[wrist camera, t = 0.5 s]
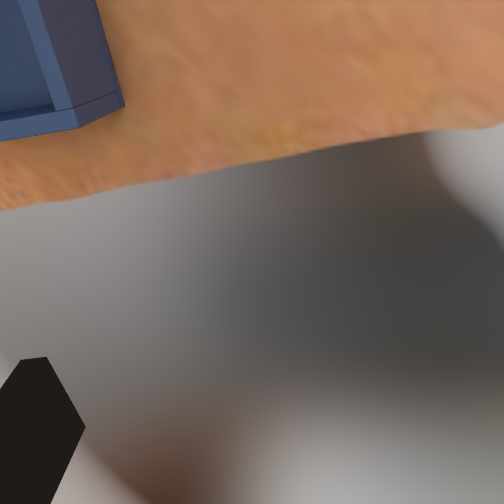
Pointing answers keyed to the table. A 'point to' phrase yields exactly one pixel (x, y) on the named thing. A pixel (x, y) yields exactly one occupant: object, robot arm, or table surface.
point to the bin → (53, 67)
